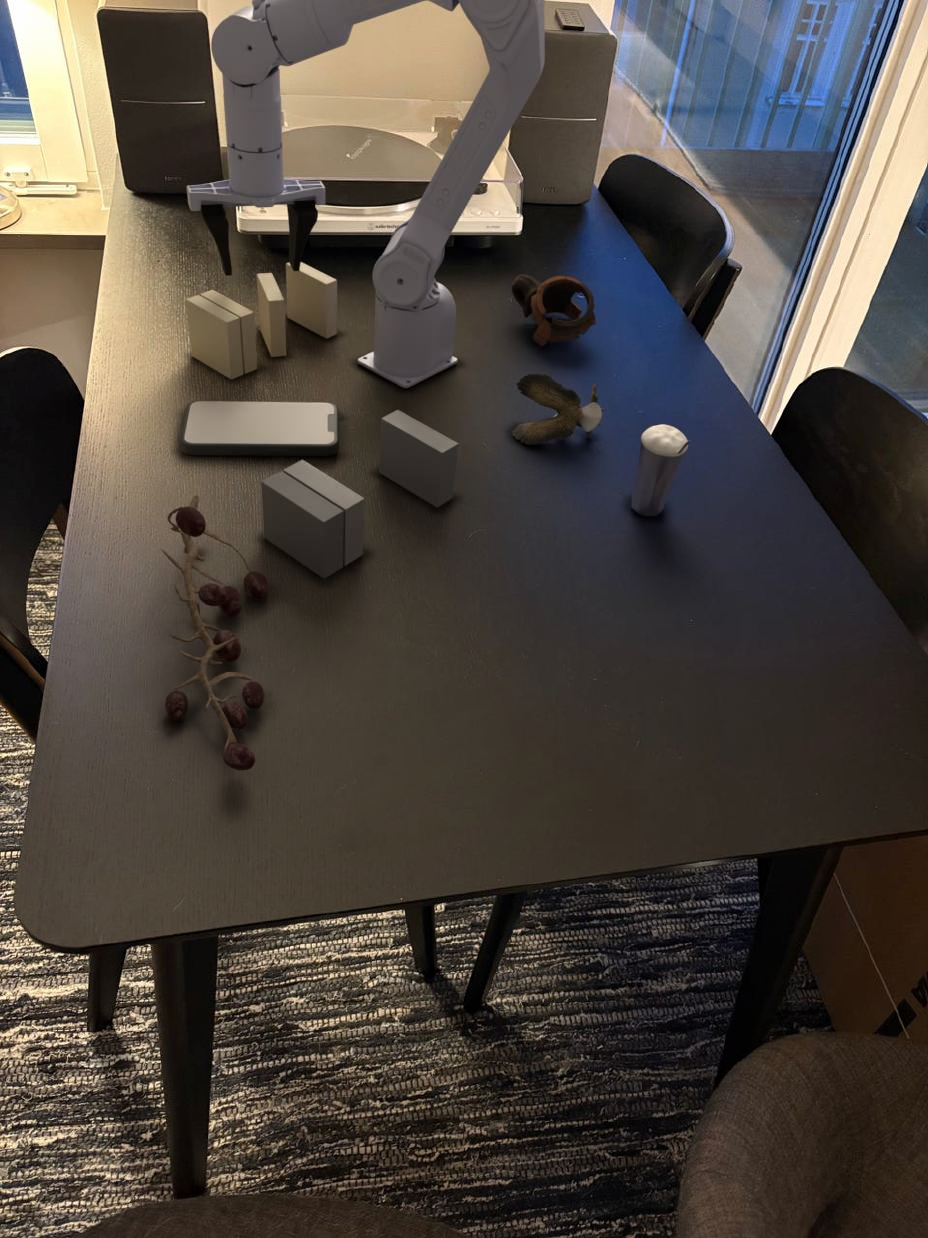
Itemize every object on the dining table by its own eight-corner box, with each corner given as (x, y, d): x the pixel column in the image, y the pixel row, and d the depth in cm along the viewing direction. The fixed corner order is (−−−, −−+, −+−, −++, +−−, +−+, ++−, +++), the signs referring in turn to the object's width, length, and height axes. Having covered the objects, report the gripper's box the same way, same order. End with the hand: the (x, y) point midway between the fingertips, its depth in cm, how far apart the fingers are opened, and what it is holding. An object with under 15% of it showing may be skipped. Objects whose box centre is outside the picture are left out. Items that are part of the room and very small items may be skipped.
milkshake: (645, 529, 97) (669, 445, 90) (615, 499, 100) (636, 415, 93) (681, 519, 98) (708, 436, 92) (651, 490, 102) (674, 407, 95)
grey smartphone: (180, 459, 98) (339, 459, 100) (178, 445, 97) (338, 446, 99) (189, 411, 105) (338, 413, 106) (187, 398, 103) (338, 400, 105)
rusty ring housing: (599, 327, 128) (614, 290, 120) (564, 380, 126) (577, 346, 118) (522, 281, 129) (532, 241, 121) (485, 333, 126) (493, 296, 118)
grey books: (394, 463, 101) (397, 409, 96) (452, 497, 97) (458, 443, 93) (264, 538, 90) (260, 481, 86) (324, 579, 87) (323, 522, 82)
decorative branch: (259, 732, 65) (139, 426, 79) (192, 804, 70) (90, 502, 84) (379, 732, 74) (252, 456, 88) (312, 796, 78) (201, 523, 92)
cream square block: (274, 327, 119) (271, 272, 114) (286, 355, 114) (284, 299, 110) (259, 328, 118) (256, 273, 114) (271, 357, 114) (268, 300, 109)
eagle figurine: (581, 399, 111) (508, 387, 108) (610, 371, 105) (533, 357, 102) (582, 462, 109) (508, 451, 107) (612, 437, 103) (534, 425, 100)
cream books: (298, 313, 122) (296, 259, 117) (337, 334, 119) (337, 279, 114) (191, 355, 112) (185, 298, 108) (231, 379, 109) (226, 322, 105)
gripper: (189, 159, 96) (202, 289, 105) (332, 155, 100) (332, 280, 110) (178, 134, 100) (191, 261, 110) (316, 131, 105) (317, 254, 114)
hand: (261, 269), depth 110 cm, fingers open, 7 cm apart
